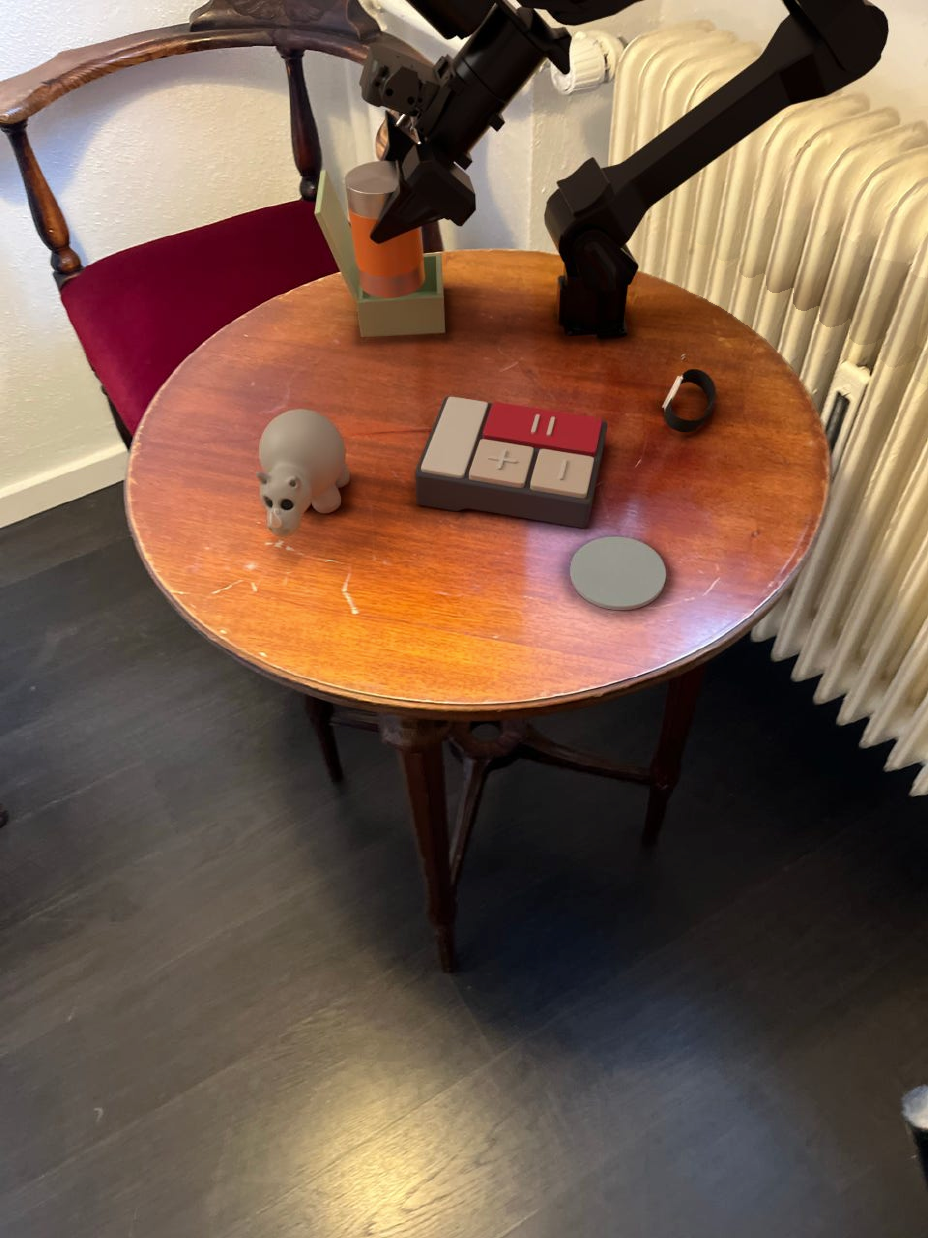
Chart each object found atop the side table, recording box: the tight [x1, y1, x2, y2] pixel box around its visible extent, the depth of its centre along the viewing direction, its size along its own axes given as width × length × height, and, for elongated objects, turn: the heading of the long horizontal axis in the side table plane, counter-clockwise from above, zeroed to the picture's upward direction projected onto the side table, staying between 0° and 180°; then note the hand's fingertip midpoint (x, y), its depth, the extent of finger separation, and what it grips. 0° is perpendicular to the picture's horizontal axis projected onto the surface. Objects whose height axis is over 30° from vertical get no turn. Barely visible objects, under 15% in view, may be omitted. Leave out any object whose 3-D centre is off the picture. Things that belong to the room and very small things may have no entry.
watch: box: [661, 368, 717, 433], centre depth 83 cm, size 8×5×4 cm, turn 156°
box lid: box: [314, 169, 359, 300], centre depth 89 cm, size 9×9×1 cm
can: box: [344, 160, 425, 298], centre depth 83 cm, size 6×6×10 cm
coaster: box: [569, 536, 667, 611], centre depth 71 cm, size 8×8×1 cm
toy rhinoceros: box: [255, 408, 351, 538], centre depth 74 cm, size 7×12×8 cm, turn 168°
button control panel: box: [414, 396, 608, 529], centre depth 78 cm, size 11×4×15 cm
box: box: [355, 252, 446, 338], centre depth 95 cm, size 9×9×5 cm
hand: (370, 221), depth 82 cm, fingers closed on can, 6 cm apart
